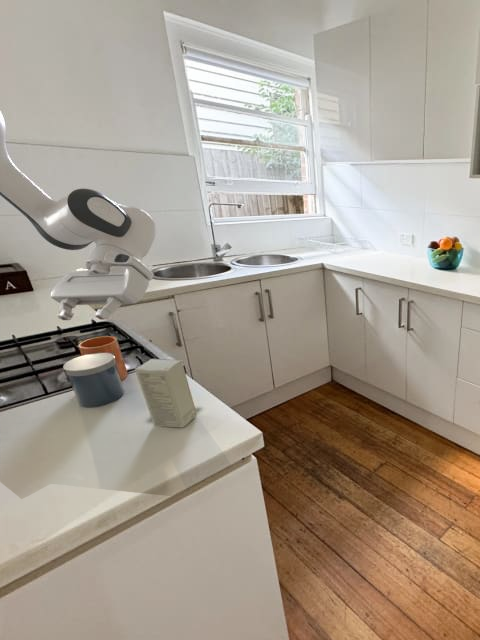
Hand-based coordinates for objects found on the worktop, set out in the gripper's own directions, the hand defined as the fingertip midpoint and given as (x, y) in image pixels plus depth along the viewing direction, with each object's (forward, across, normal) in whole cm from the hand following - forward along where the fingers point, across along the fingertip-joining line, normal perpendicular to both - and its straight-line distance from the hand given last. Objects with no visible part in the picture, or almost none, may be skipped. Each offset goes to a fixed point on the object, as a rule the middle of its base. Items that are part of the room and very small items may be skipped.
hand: (81, 318), depth 80 cm
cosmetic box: (+19, +25, +7) cm, 32 cm away
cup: (+8, 0, +12) cm, 15 cm away
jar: (+14, +5, +8) cm, 17 cm away
